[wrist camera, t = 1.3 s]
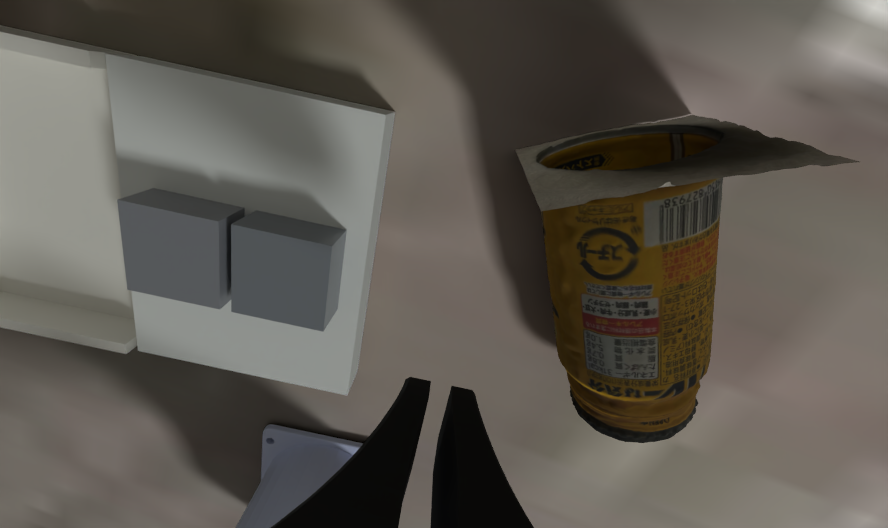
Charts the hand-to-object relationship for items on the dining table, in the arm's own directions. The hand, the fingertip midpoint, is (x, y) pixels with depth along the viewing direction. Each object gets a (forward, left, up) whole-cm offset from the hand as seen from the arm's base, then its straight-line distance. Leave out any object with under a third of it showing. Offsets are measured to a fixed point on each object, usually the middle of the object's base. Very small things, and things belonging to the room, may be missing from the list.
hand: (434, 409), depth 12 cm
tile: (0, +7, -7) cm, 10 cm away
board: (0, +10, -9) cm, 13 cm away
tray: (0, +20, -9) cm, 22 cm away
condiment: (+8, -5, -5) cm, 11 cm away
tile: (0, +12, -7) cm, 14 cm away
